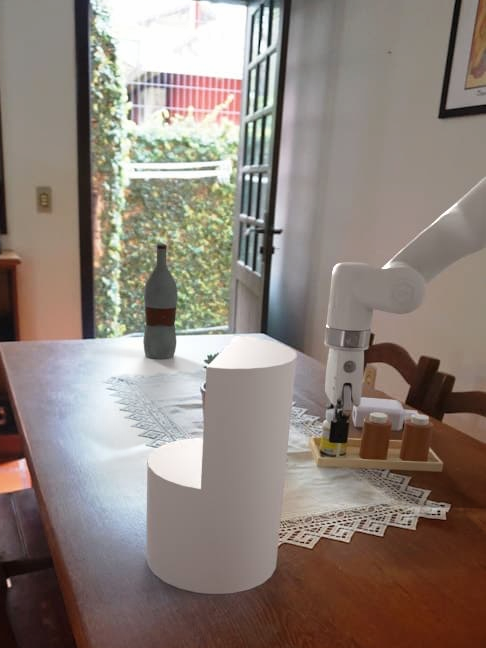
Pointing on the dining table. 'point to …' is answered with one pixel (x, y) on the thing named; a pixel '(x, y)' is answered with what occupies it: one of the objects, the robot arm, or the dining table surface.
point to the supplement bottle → (326, 447)
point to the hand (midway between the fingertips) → (335, 436)
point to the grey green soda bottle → (160, 310)
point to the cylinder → (225, 476)
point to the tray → (356, 462)
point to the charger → (382, 406)
